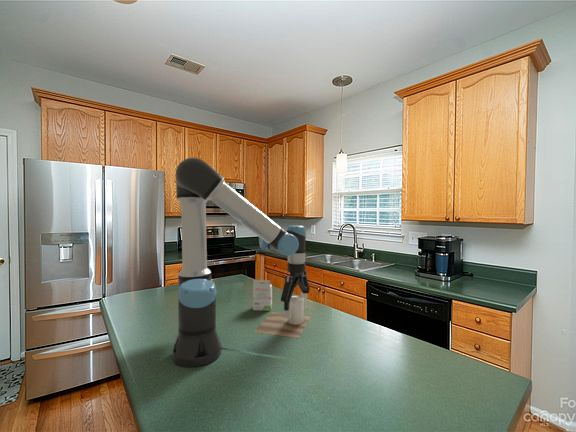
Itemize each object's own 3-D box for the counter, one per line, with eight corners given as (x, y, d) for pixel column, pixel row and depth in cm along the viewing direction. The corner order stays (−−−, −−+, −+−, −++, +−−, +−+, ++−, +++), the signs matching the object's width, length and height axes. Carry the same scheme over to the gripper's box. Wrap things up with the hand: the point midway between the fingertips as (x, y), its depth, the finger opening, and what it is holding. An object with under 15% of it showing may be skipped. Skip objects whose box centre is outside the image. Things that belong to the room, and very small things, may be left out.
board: (298, 339, 103) (298, 324, 103) (253, 333, 108) (253, 318, 108) (310, 317, 124) (311, 305, 124) (272, 313, 129) (272, 301, 129)
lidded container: (301, 317, 122) (301, 294, 122) (305, 323, 116) (305, 299, 116) (286, 318, 121) (286, 295, 121) (290, 324, 115) (290, 300, 115)
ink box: (272, 308, 136) (272, 277, 135) (270, 312, 131) (270, 280, 130) (254, 307, 136) (254, 277, 136) (252, 311, 132) (252, 279, 131)
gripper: (302, 257, 131) (302, 302, 131) (272, 266, 109) (271, 320, 110) (317, 258, 127) (317, 305, 127) (288, 268, 106) (288, 324, 106)
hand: (296, 312), depth 119 cm, fingers open, 13 cm apart
